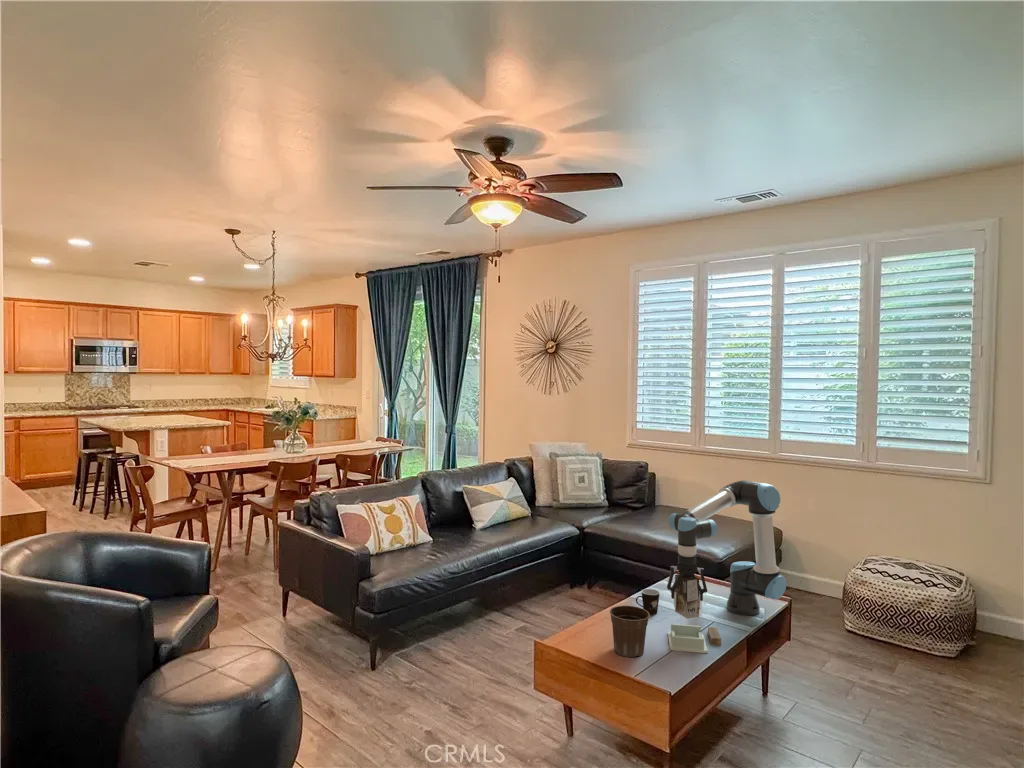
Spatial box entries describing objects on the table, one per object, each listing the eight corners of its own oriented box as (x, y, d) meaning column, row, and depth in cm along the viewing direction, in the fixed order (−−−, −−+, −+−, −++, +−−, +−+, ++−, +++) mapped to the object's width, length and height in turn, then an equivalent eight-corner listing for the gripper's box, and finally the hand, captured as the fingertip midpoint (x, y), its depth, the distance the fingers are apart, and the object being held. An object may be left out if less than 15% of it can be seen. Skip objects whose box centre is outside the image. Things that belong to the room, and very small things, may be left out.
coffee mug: (658, 609, 297) (658, 589, 297) (660, 616, 288) (660, 595, 288) (634, 608, 298) (634, 588, 298) (636, 615, 289) (636, 594, 289)
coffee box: (699, 617, 255) (700, 578, 255) (687, 619, 253) (687, 580, 253) (686, 609, 264) (687, 572, 264) (674, 611, 262) (674, 574, 262)
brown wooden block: (717, 634, 268) (717, 627, 268) (721, 645, 257) (721, 638, 257) (708, 633, 269) (707, 626, 269) (711, 645, 258) (711, 638, 258)
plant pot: (649, 644, 257) (649, 606, 257) (649, 662, 241) (649, 621, 241) (610, 641, 260) (610, 603, 260) (608, 657, 245) (608, 618, 245)
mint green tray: (703, 636, 265) (703, 624, 265) (707, 653, 249) (707, 641, 249) (667, 633, 268) (667, 622, 268) (670, 650, 252) (670, 638, 252)
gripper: (712, 553, 260) (712, 605, 260) (660, 550, 264) (660, 602, 264) (715, 558, 253) (714, 612, 253) (661, 555, 257) (660, 608, 257)
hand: (686, 607), depth 259 cm, fingers closed on coffee box, 9 cm apart
